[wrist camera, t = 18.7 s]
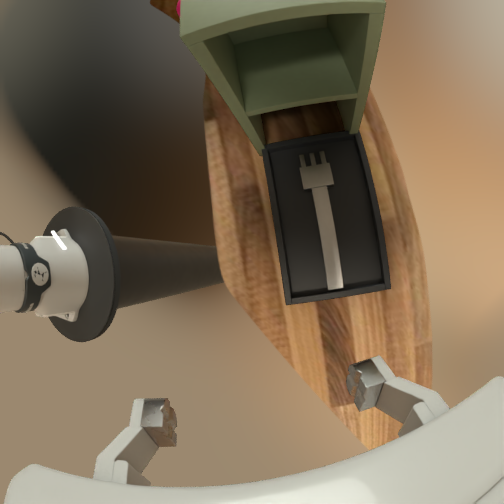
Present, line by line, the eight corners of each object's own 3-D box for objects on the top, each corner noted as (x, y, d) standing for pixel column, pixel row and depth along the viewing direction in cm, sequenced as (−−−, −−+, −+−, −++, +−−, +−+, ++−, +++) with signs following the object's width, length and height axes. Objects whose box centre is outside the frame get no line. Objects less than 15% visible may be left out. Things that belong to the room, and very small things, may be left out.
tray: (287, 302, 36) (285, 305, 34) (263, 151, 37) (260, 145, 35) (386, 286, 33) (391, 288, 31) (356, 135, 34) (358, 129, 32)
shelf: (259, 156, 38) (179, 37, 13) (248, 91, 38) (181, -28, 14) (356, 139, 34) (386, 2, 10) (334, 75, 35) (328, -57, 11)
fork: (350, 285, 34) (351, 286, 32) (320, 290, 35) (320, 291, 33) (325, 152, 35) (325, 148, 33) (297, 156, 35) (296, 153, 34)
